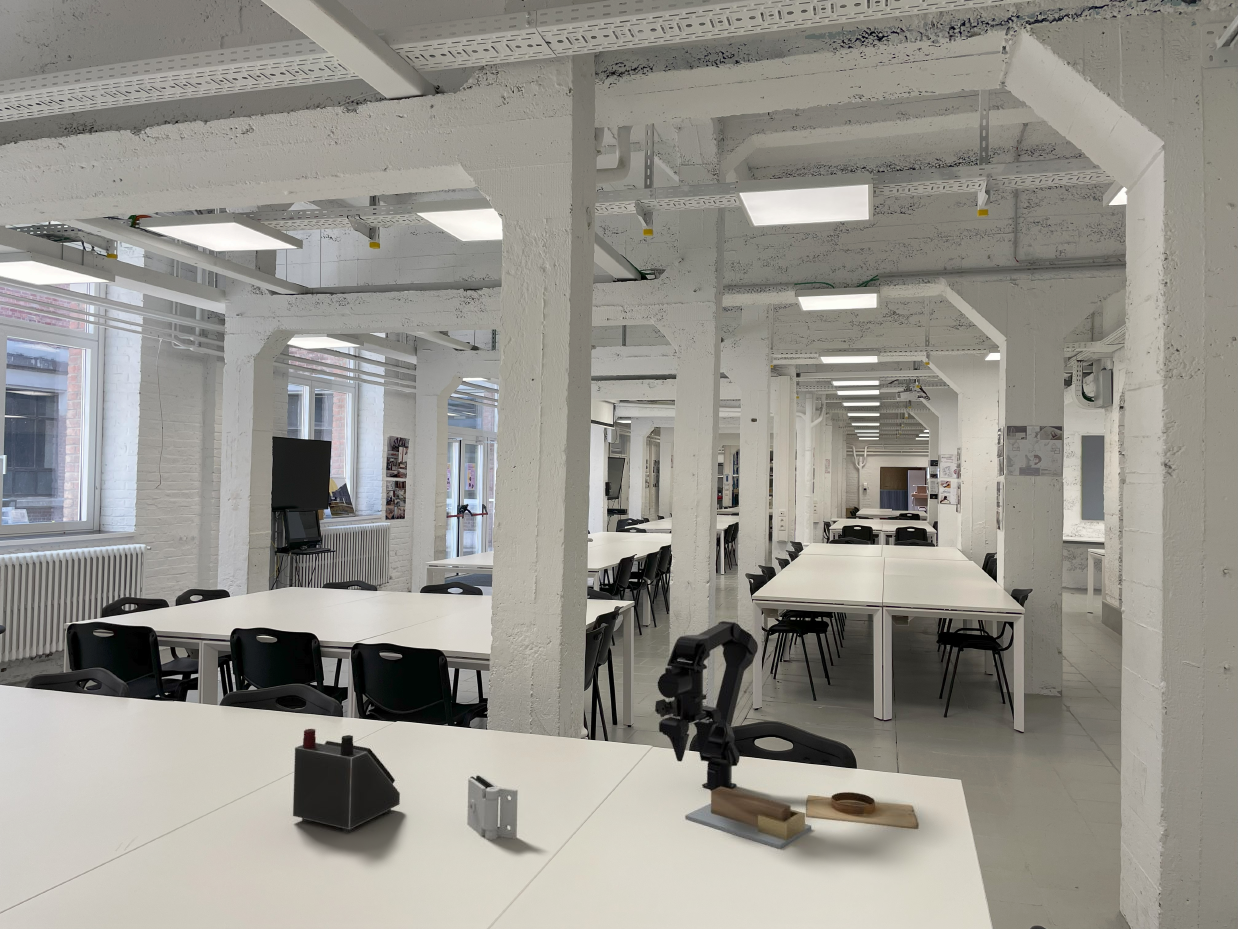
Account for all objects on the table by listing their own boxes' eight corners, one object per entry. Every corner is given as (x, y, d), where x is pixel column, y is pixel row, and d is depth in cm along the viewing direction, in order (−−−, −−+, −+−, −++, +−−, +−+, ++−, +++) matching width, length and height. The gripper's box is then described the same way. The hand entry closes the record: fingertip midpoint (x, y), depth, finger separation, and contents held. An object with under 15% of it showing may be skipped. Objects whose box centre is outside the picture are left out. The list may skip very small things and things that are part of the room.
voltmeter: (400, 810, 191) (402, 722, 192) (349, 836, 176) (351, 740, 177) (346, 798, 198) (348, 713, 198) (292, 822, 183) (295, 730, 184)
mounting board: (719, 802, 199) (719, 799, 199) (811, 829, 183) (811, 825, 183) (685, 819, 188) (685, 815, 188) (779, 849, 172) (779, 845, 173)
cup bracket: (776, 821, 185) (776, 805, 186) (804, 829, 181) (805, 813, 181) (757, 831, 179) (757, 815, 179) (786, 840, 175) (786, 823, 175)
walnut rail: (720, 808, 193) (720, 786, 193) (790, 829, 181) (790, 805, 181) (710, 813, 190) (711, 790, 190) (781, 834, 178) (781, 810, 178)
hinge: (517, 838, 176) (518, 790, 177) (497, 845, 172) (498, 796, 173) (478, 819, 186) (479, 774, 186) (458, 826, 182) (459, 779, 182)
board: (803, 820, 190) (803, 805, 190) (804, 797, 205) (804, 784, 205) (919, 832, 184) (919, 817, 184) (911, 807, 199) (911, 794, 199)
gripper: (684, 679, 211) (683, 741, 211) (640, 692, 196) (639, 759, 196) (722, 685, 204) (721, 750, 204) (679, 699, 190) (679, 769, 189)
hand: (690, 756), depth 198 cm, fingers open, 9 cm apart
